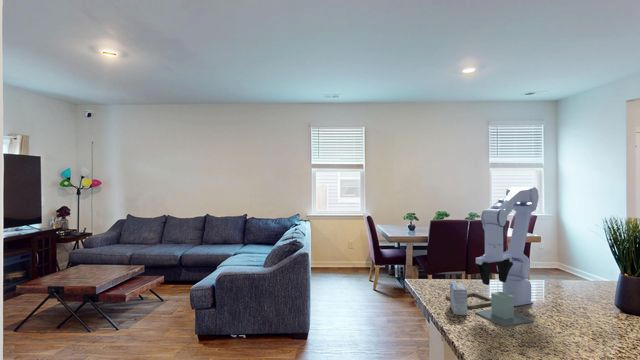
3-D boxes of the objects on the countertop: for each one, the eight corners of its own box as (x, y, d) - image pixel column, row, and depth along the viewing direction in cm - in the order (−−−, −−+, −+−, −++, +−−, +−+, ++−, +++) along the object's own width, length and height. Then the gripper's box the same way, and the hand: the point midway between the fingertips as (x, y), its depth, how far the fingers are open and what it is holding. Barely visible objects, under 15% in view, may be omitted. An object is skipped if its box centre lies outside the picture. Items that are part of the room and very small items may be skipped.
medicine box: (467, 315, 116) (467, 289, 116) (453, 314, 116) (453, 289, 116) (462, 307, 123) (462, 283, 123) (449, 306, 124) (449, 282, 124)
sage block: (500, 312, 117) (500, 291, 117) (513, 317, 113) (513, 296, 113) (491, 313, 116) (491, 293, 116) (504, 319, 111) (504, 297, 111)
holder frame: (474, 294, 137) (474, 291, 137) (499, 304, 126) (499, 301, 126) (445, 298, 133) (445, 295, 133) (468, 309, 121) (468, 306, 121)
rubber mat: (502, 308, 121) (502, 307, 121) (533, 321, 110) (533, 320, 110) (475, 313, 117) (475, 312, 117) (505, 327, 106) (504, 325, 106)
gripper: (499, 240, 125) (500, 277, 125) (468, 243, 120) (469, 282, 120) (517, 243, 119) (517, 282, 119) (484, 246, 113) (485, 288, 113)
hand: (494, 282), depth 119 cm, fingers open, 7 cm apart
